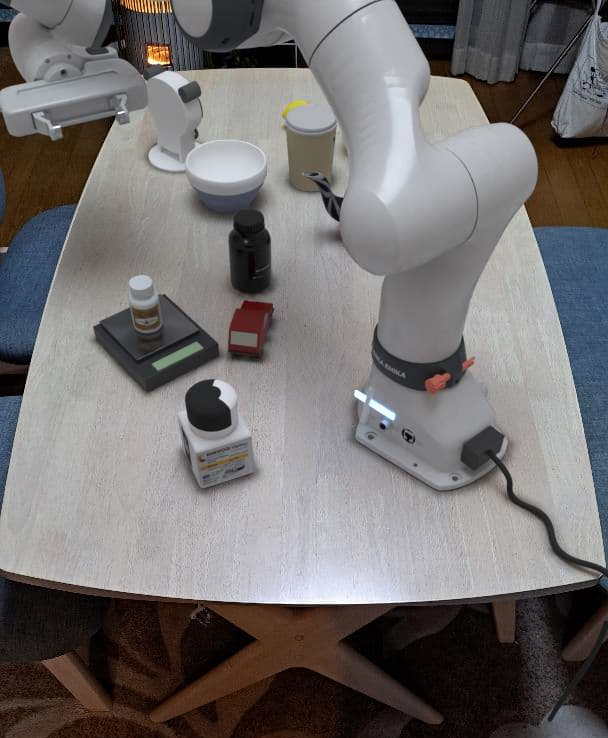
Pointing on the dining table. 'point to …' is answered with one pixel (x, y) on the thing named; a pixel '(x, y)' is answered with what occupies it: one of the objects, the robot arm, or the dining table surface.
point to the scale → (157, 345)
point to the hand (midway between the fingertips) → (91, 126)
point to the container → (215, 433)
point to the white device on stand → (173, 117)
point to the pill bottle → (144, 305)
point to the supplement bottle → (250, 252)
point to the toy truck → (249, 328)
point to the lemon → (291, 106)
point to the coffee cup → (310, 143)
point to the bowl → (226, 173)
